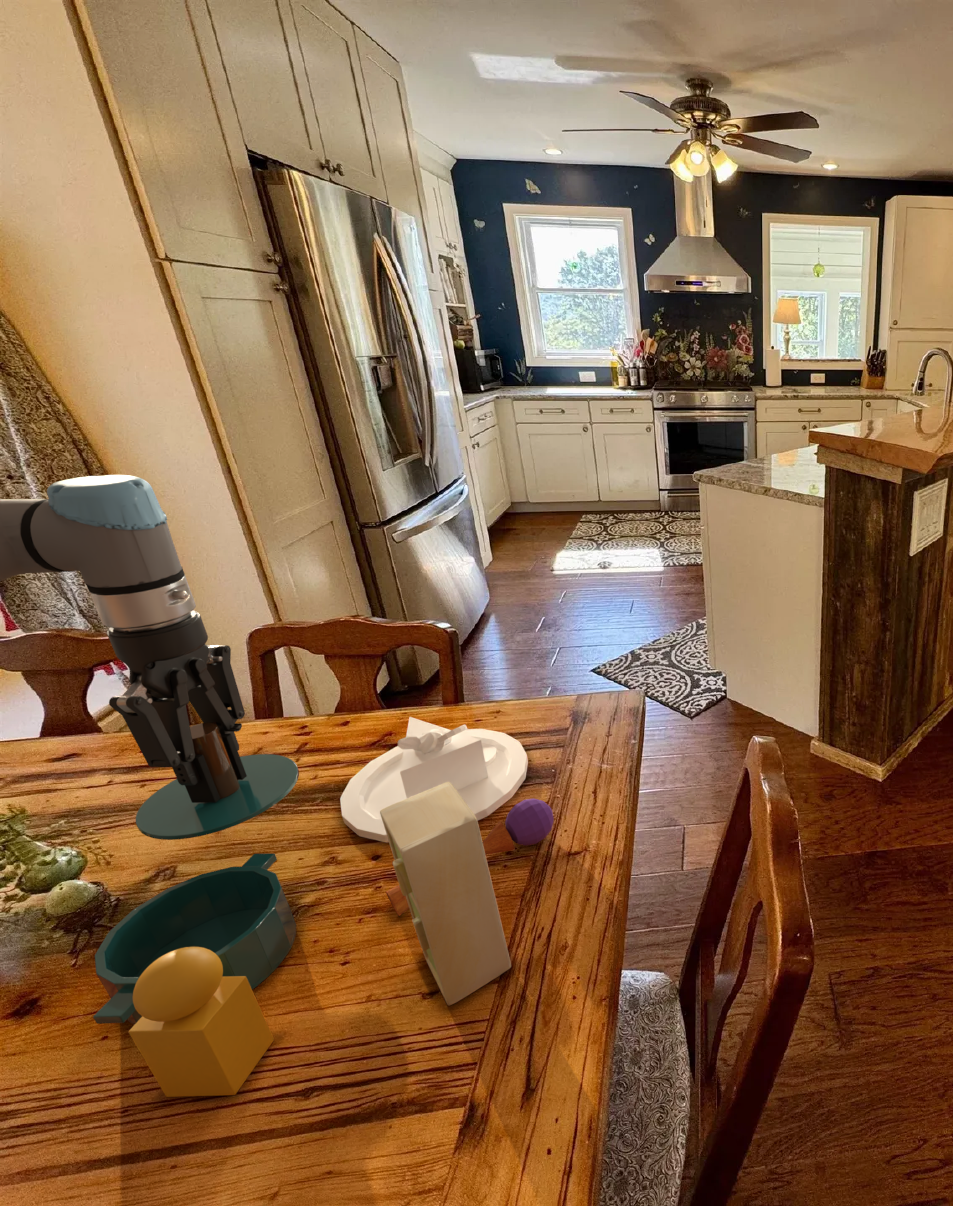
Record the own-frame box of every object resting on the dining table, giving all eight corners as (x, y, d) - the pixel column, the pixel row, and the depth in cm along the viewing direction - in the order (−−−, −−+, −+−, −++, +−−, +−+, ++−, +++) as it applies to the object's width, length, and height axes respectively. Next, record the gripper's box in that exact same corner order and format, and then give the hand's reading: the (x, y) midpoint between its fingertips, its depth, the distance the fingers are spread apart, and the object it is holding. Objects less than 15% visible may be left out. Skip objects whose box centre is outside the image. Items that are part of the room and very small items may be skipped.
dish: (556, 782, 98) (547, 721, 94) (370, 871, 82) (348, 801, 77) (490, 718, 114) (479, 662, 109) (322, 782, 97) (301, 719, 92)
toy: (162, 1101, 57) (98, 992, 52) (213, 1037, 62) (159, 932, 57) (232, 1099, 57) (176, 991, 52) (277, 1036, 63) (230, 931, 57)
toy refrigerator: (415, 962, 70) (370, 811, 62) (485, 923, 75) (451, 778, 67) (439, 1014, 65) (393, 857, 57) (512, 968, 70) (479, 818, 62)
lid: (100, 844, 73) (63, 771, 69) (209, 760, 87) (184, 696, 83) (241, 844, 74) (213, 771, 70) (327, 761, 88) (307, 697, 84)
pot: (49, 1059, 60) (18, 1013, 58) (217, 890, 78) (199, 849, 76) (209, 1055, 61) (185, 1009, 58) (339, 888, 79) (325, 848, 76)
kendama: (376, 873, 76) (534, 784, 89) (394, 912, 78) (546, 819, 91) (390, 894, 72) (553, 798, 85) (409, 934, 74) (566, 834, 87)
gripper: (117, 653, 63) (196, 837, 72) (245, 590, 78) (297, 749, 88) (37, 652, 63) (126, 837, 72) (181, 589, 78) (240, 748, 87)
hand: (220, 788), depth 80 cm, fingers closed on lid, 4 cm apart
